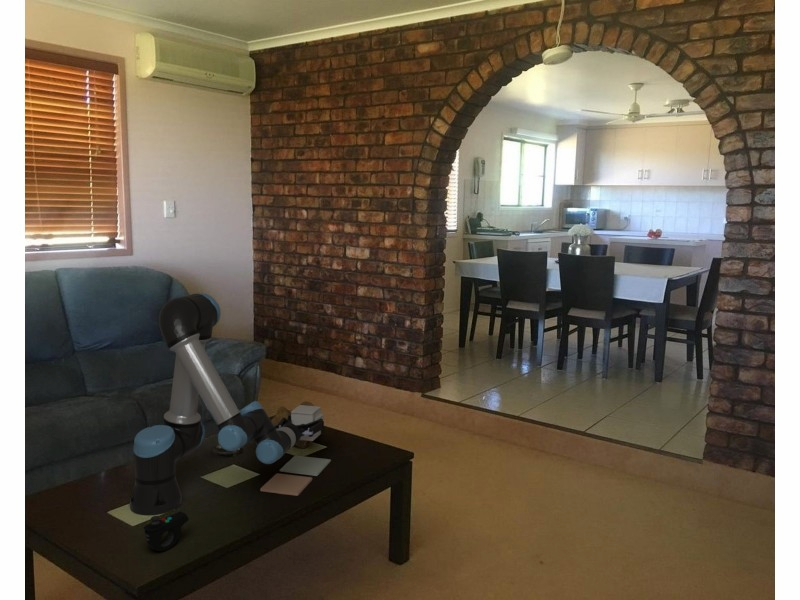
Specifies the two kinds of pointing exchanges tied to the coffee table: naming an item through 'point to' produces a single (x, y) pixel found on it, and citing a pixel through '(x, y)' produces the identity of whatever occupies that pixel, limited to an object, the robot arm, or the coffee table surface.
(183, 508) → the coffee table surface
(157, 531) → the controller
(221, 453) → the log
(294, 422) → the white box
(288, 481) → the thin square tile
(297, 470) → the mat
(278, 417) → the rough brown rock
